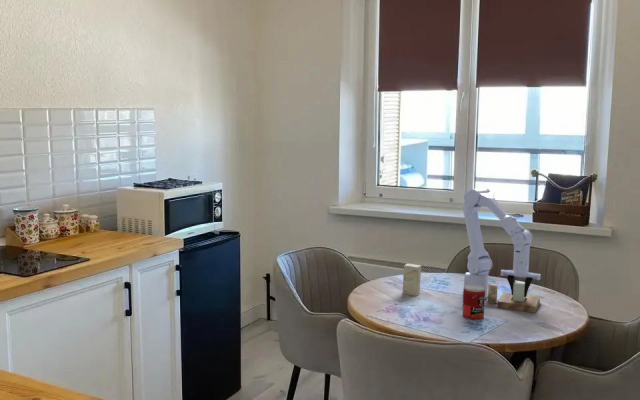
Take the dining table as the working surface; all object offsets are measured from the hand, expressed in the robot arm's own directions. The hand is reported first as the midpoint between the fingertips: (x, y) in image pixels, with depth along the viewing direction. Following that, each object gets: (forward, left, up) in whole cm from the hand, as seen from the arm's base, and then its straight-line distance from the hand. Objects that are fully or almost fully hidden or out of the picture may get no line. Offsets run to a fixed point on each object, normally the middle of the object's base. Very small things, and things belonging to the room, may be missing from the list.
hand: (519, 295), depth 238 cm
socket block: (0, 0, -4) cm, 4 cm away
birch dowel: (-10, -1, -4) cm, 11 cm away
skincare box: (-42, -5, -4) cm, 42 cm away
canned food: (-13, -22, -4) cm, 26 cm away
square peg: (0, 0, -3) cm, 3 cm away
